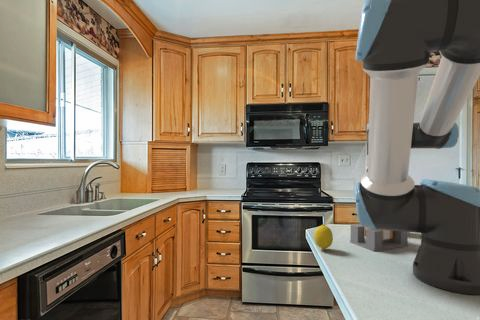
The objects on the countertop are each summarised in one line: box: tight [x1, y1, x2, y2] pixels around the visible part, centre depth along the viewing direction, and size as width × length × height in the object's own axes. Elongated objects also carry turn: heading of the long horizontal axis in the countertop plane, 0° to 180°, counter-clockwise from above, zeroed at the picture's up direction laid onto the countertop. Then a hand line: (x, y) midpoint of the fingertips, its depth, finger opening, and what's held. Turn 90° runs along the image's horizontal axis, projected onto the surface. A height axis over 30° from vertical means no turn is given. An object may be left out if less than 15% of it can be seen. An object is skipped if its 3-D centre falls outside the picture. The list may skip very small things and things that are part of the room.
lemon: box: [313, 224, 334, 251], centre depth 87 cm, size 6×6×8 cm
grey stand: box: [349, 223, 409, 252], centre depth 93 cm, size 10×15×6 cm, turn 112°
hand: (378, 236), depth 93 cm, fingers closed on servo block, 5 cm apart
